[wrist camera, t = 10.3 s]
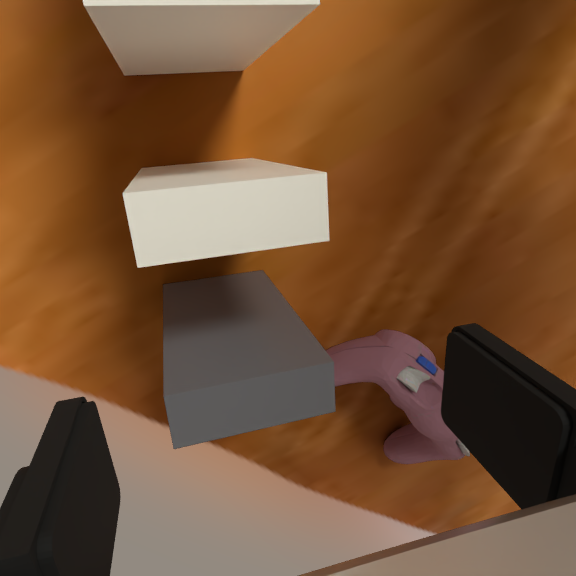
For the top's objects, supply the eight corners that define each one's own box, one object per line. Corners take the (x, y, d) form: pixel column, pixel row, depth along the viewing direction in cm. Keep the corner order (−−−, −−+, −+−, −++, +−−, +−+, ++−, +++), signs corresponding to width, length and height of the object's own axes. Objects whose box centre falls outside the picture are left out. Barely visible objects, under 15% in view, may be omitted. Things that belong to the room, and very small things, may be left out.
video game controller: (414, 402, 30) (515, 427, 24) (385, 461, 28) (486, 503, 22) (333, 311, 26) (431, 315, 20) (292, 373, 24) (388, 397, 18)
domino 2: (141, 168, 19) (122, 193, 10) (251, 158, 20) (326, 172, 11) (148, 208, 19) (137, 267, 10) (255, 196, 21) (329, 240, 12)
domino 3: (162, 284, 21) (163, 396, 12) (262, 270, 22) (333, 361, 13) (168, 318, 21) (173, 449, 12) (265, 302, 23) (335, 411, 13)
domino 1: (115, 25, 17) (60, -108, 8) (238, 23, 18) (315, -96, 9) (124, 75, 18) (83, 6, 8) (243, 70, 19) (319, 4, 10)
